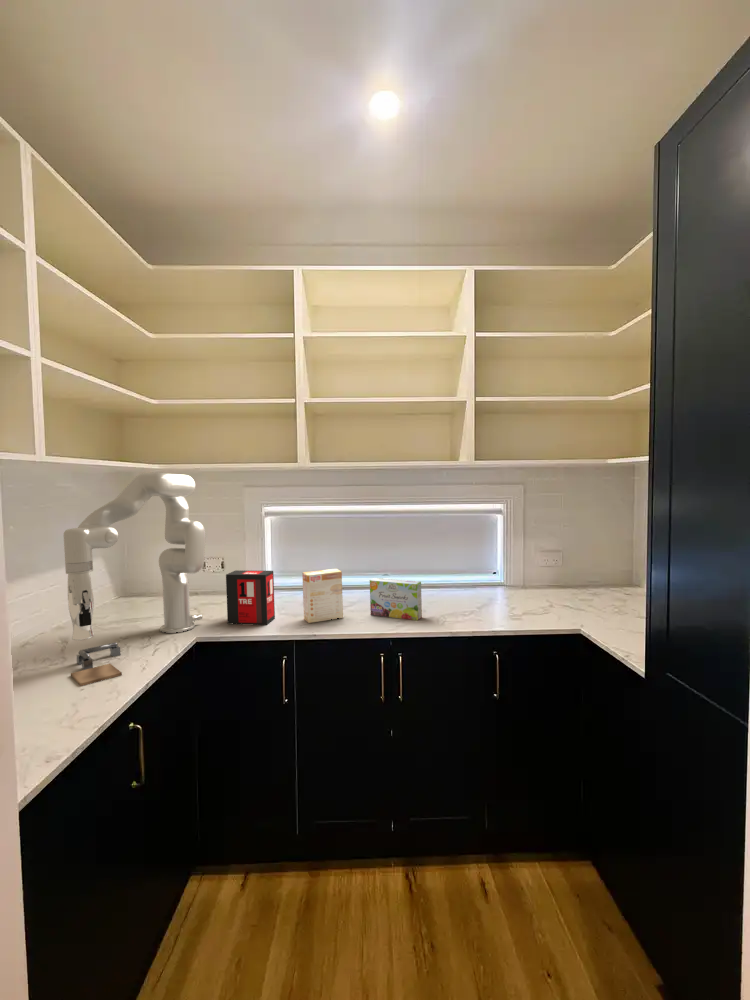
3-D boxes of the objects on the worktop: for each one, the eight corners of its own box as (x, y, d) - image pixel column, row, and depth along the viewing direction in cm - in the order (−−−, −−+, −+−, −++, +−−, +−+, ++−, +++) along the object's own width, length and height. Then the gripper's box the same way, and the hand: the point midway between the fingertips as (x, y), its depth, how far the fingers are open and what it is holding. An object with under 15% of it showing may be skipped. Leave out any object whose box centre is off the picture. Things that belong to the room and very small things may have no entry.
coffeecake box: (337, 614, 216) (336, 568, 215) (343, 618, 210) (342, 570, 209) (303, 619, 210) (301, 571, 209) (308, 623, 203) (307, 574, 202)
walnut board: (110, 665, 162) (109, 663, 162) (121, 675, 154) (121, 672, 154) (70, 675, 154) (70, 673, 154) (80, 686, 146) (80, 683, 146)
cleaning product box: (227, 624, 205) (225, 574, 204) (237, 617, 214) (235, 570, 213) (267, 625, 203) (265, 574, 202) (274, 618, 211) (273, 570, 210)
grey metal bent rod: (118, 653, 173) (117, 640, 173) (126, 659, 167) (126, 646, 167) (76, 663, 165) (76, 650, 164) (84, 670, 159) (83, 656, 158)
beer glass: (99, 633, 166) (97, 587, 165) (88, 640, 159) (85, 593, 158) (78, 634, 166) (75, 588, 165) (65, 641, 159) (62, 593, 158)
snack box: (369, 615, 213) (368, 579, 212) (375, 612, 218) (374, 577, 217) (417, 621, 203) (417, 583, 203) (422, 617, 209) (421, 580, 208)
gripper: (59, 565, 165) (62, 620, 166) (72, 572, 153) (76, 631, 154) (85, 562, 170) (87, 615, 171) (100, 568, 158) (103, 626, 159)
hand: (82, 622), depth 162 cm, fingers closed on beer glass, 6 cm apart
